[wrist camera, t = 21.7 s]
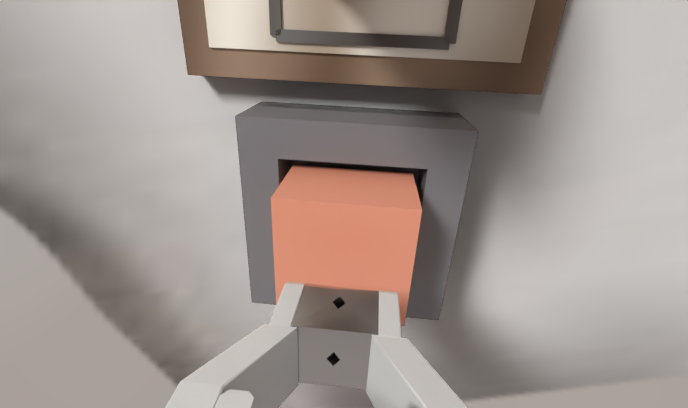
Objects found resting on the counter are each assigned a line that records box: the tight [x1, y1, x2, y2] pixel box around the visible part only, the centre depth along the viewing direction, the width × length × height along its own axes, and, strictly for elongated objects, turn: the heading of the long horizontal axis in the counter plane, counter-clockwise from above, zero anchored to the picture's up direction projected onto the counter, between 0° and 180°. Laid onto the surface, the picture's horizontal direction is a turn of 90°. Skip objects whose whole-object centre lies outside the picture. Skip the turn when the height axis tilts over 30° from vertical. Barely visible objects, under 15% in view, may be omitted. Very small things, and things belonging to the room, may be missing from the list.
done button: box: [271, 165, 422, 326], centre depth 12 cm, size 4×4×3 cm
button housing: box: [235, 102, 478, 320], centre depth 15 cm, size 8×8×3 cm
